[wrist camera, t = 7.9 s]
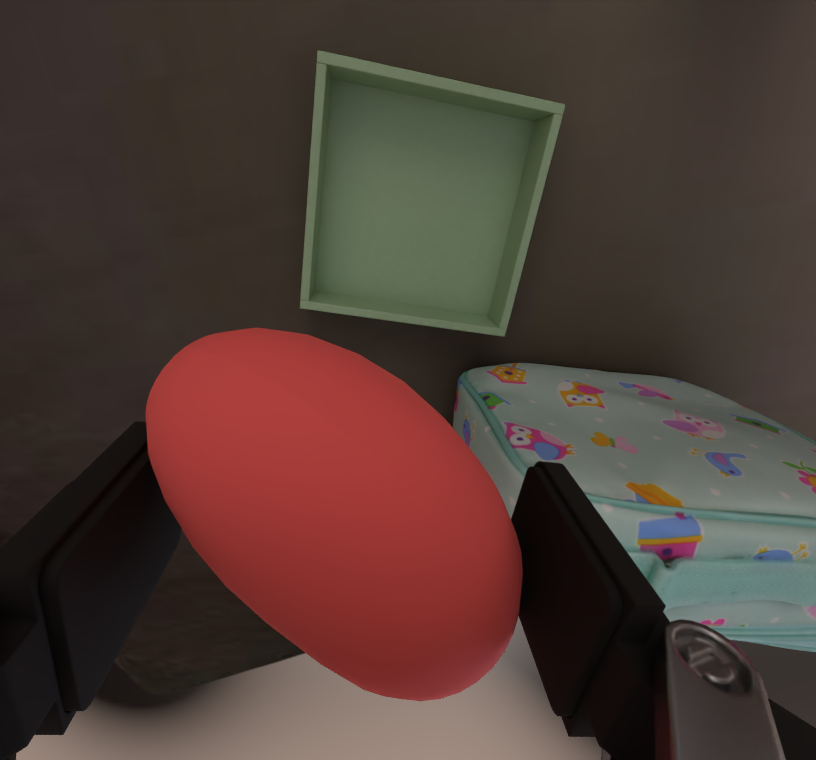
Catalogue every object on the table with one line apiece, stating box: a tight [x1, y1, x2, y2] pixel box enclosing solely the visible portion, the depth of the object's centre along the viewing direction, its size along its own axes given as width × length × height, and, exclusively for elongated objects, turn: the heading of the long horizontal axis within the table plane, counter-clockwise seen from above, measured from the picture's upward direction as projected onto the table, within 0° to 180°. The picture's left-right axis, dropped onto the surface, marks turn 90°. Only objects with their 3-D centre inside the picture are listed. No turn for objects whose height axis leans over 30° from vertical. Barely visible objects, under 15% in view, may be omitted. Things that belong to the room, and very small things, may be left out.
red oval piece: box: [145, 328, 523, 701], centre depth 9 cm, size 5×9×6 cm, turn 24°
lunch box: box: [453, 363, 816, 652], centre depth 30 cm, size 27×10×21 cm, turn 82°
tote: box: [300, 50, 565, 337], centre depth 30 cm, size 15×15×4 cm
